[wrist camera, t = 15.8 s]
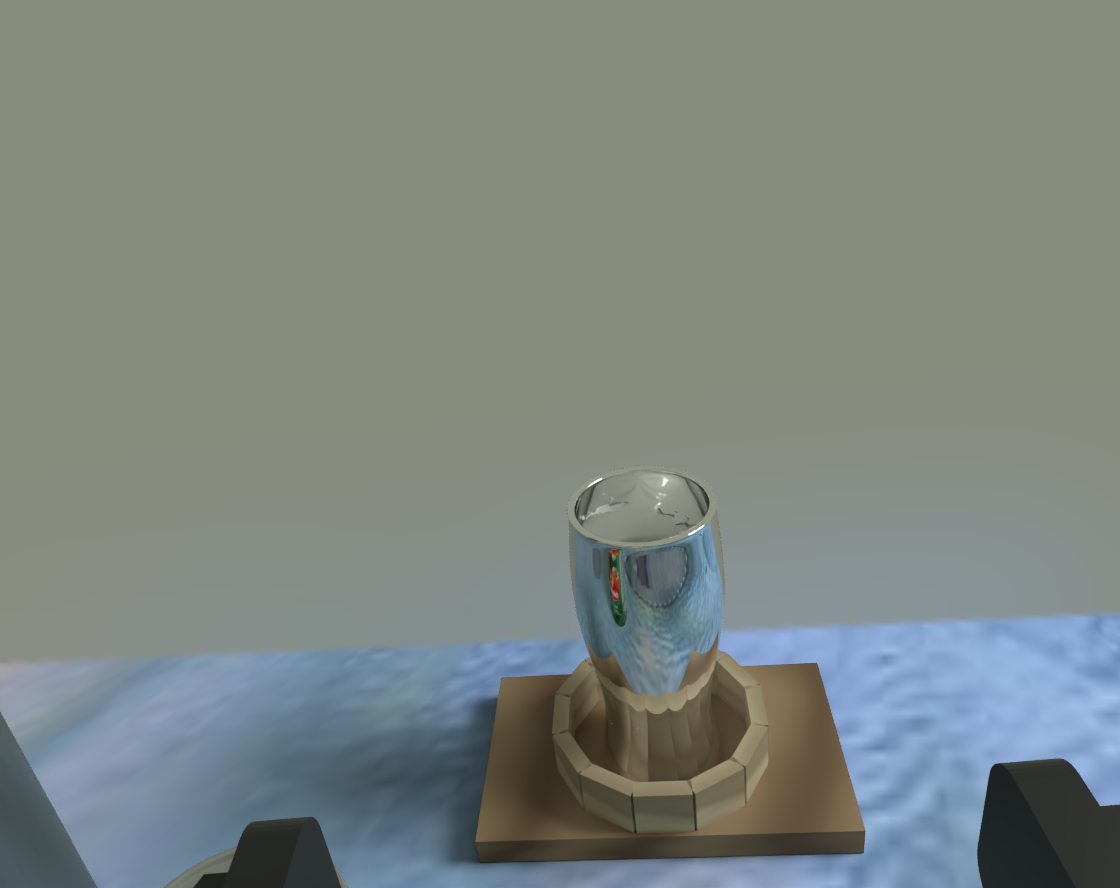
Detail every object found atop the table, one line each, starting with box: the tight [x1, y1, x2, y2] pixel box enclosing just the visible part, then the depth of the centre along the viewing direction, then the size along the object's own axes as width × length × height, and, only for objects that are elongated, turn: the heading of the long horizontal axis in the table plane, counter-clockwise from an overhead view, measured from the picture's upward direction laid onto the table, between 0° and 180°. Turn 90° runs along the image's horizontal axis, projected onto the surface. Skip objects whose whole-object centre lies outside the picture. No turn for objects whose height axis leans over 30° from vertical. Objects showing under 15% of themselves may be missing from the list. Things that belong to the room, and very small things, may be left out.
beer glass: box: [567, 466, 725, 782], centre depth 42 cm, size 7×7×15 cm
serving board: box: [475, 650, 865, 863], centre depth 46 cm, size 18×11×4 cm, turn 87°
